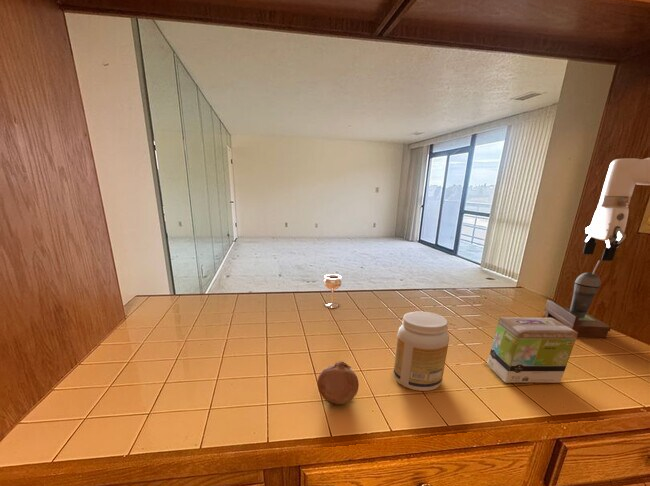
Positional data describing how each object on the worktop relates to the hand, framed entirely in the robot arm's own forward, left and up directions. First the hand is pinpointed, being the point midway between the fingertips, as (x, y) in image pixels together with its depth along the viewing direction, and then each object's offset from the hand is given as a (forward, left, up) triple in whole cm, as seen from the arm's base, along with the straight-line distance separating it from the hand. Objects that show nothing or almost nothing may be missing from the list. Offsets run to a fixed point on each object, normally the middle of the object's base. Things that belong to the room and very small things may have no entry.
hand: (596, 257), depth 114 cm
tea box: (+33, +36, -25) cm, 55 cm away
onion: (+82, +53, -25) cm, 101 cm away
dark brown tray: (0, 0, -25) cm, 25 cm away
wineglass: (+87, -10, -25) cm, 91 cm away
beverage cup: (0, 0, -21) cm, 21 cm away
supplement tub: (+62, +42, -25) cm, 79 cm away
